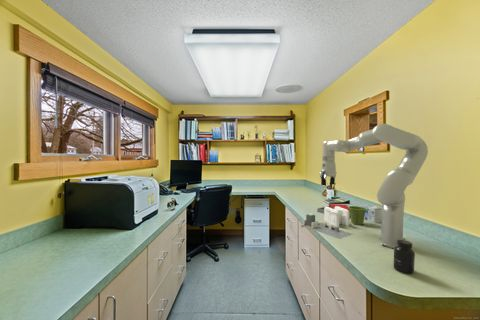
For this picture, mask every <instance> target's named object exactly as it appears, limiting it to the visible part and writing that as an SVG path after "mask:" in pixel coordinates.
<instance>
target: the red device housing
mask: <svg viewBox="0 0 480 320" xmlns="http://www.w3.org/2000/svg"><path fill="white" fill-rule="evenodd" d="M328 206H329V207H330V208H332V209H335V206H339V207H341V208H344V209H347V210H348V211H349V208H348V207H349V205H346V204H335V203H330V204H328ZM349 213H350V211H349Z"/></svg>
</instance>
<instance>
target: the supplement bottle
mask: <svg viewBox="0 0 480 320" xmlns="http://www.w3.org/2000/svg"><path fill="white" fill-rule="evenodd" d="M412 244H413V243H412V242H411V241H409V240H406V239H405V240H398V241H397V245H398V246H395V247H394V248H393V262H392V263H393V264H392V266H393V268H394V270H395V271H397V272H399V273H402V274H404V275H413V274H414V273H415V264H416V263H415V259H416V252H415V251H414V249H413V247H412Z"/></svg>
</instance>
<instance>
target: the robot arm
mask: <svg viewBox="0 0 480 320" xmlns="http://www.w3.org/2000/svg"><path fill="white" fill-rule="evenodd" d="M380 143H386V144H388V145H391V146H392V147H394V148H397V149H399V150H404V151H405V154H404V156H403V157H402V159H401V160H400V163H399V165H398V166H397V167H396V168H393V169H392V170H390V171H389V172H388V173H387V174H386V176H385V178H384V179H383V181H382V183H381V185H380V186H379V189H378V190H377V193H376V198H377V201H378V202H379V203H380V204H381V208H382V212H381V222H380V223H381V224H380V225H381V227H380V232H381V233H380V234H381V235H380V237H379V238H377V242H379V243H381V246H383V247H387V248H389V249H390V248H391V249H394V247H395V246H398V245H397V241H398V240H406V238H405V237H404V215H405V214H404V211H405V202H406V193H405V191H406V190H407V188H408V186H410V185H412V184H413V183H414V180H416V177H417V176H418V173H419V172H420V170H421V169H422V167H423V165H424V163H425V161H426V159H427V157H428V154H429V153H428V152H429V150H428V149H429V148H428V145H427V143H426V142H425V141H424V139H423V138H421V137H420V136H419V135H417V134H415V133H411V132H408V131H406V130H403V129H400V128H398V127H394V126H392V125H391V124H387V123H380V124H377V125H376V126H375V127H374V128H372V129H369V130H365V131H362V132H360V133H359V135H358V136H355V137H353V138H350V139H346V140H343V139H336V140H335V139H334V140H324V141H323V143H322V163H321V171H320V172H319V177H320V180H321V181H320V183H321V184H320V185H321V186H327V177H328V178H329V177H330V178H329V184H330V185H333V186H335V182H336V176H337V169H336V168H337V167H336V162H335V158H336V156H335V155H336V152H337V153H338V152H339V153H347V152H352V151H355V150H359V149H362V148H366V147H367V146H368V147H369V146H373V145H376V144H380ZM412 248H413V243H412Z"/></svg>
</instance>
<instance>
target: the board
mask: <svg viewBox="0 0 480 320" xmlns="http://www.w3.org/2000/svg"><path fill="white" fill-rule="evenodd" d="M300 227H301V228H304V227H305V228H307V229H311V230H313V231H316V232H319V233H322V234H324V235H328V236H331V237H333V238H336V239H338V240H341V239H343V238H346V237H349V236H352V235H353V233H351V232H347V231H344V230H341V229H340V226H339V227H338V226H334V225H333V224H328V222H326V221H319V220H317V221H316V220H315V222H312V225H311V227H310V226H307V225H306V218H305V219H302V225H300Z"/></svg>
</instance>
